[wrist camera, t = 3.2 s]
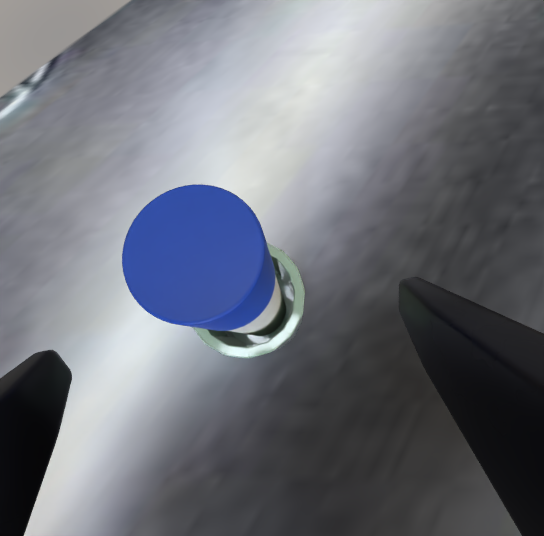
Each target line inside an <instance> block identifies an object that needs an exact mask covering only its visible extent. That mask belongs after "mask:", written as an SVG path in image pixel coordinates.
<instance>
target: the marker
mask: <svg viewBox="0 0 544 536" xmlns="http://www.w3.org/2000/svg"><path fill="white" fill-rule="evenodd" d="M122 265H123V272H124V276H125V280H126V283H127V285H128V288H129V290H130V292H131V293H132V295H133V297H134V298H135V300H136V301H137V302H138V303H139V305H140V306H142V307H143V308H144V309H145V310H146V311H147V312H149V313H150V314H151V315H153V316H154V317H157V318H159V319H161V320H163V321H166V322H169V323H172V324H178V325H184V326H190V327H196V328H203V329H209V330H216V331H232V332H238V333H244V334H249V335H255V336H263V335H267V334H270V333H272V332H274V331H275V330H276V329H277V328H278V327H279V326H280V325H281V323H282V322H283V319H284V317H285V312H286V306H285V301H284V298H283V295H282V293H281V290H280V287H279V284H278V281H277V278H276V275H275V269H274V265H273V261H272V258H271V255H270V252H269V249H268V246H267V243H266V240H265V237H264V233H263V230H262V228H261V225H260V222H259V221H258V219H257V217H256V215H255V214H254V212H253V211H252V210H251V208H250V207H249V206H248V205H247V204H246V203H245V202H244V201H243V200H242V199H240V198H239V197H238V196H236V195H234V194H233V193H231V192H229V191H227V190H224V189H222V188H218V187H214V186H209V185H187V186H182V187H178V188H175V189H172V190H170V191H167V192H165V193H163V194H161V195H160V196H158V197H157V198H155V199H154V200H152V201H151V202H150V203H149V204H148V205H146V206H145V207H144V208H143V210H142V211H141V212H140V213H139V214H138V215H137V217H136V218H135V220H134V221H133V223H132V225H131V226H130V228H129V231H128V233H127V236H126V239H125V242H124V247H123V254H122Z"/></svg>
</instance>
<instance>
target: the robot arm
mask: <svg viewBox="0 0 544 536" xmlns="http://www.w3.org/2000/svg"><path fill="white" fill-rule="evenodd" d="M399 311H400V314H401V316H402V319H403V321H404V323H405V326H406V328H407V330H408V332H409V335H410V337H411V339H412V342H413V344H414V346H415V349H416V351H417V353H418V355H419V358H420V360H421V362H422V364H423V366H424V368H425V370H426V372H427V374H428V375H429V377H430V379H431V381H432V382H433V384H434V386H435V387H436V389H437V391H438V393H439V394H440V396H441V398H442V399H443V401H444V403H445V405H446V406H447V408H448V410H449V411H450V413H451V415H452V417H453V418H454V420H455V422H456V423H457V425H458V427H459V429H460V430H461V432H462V434H463V435H464V437H465V439H466V441H467V442H468V444H469V446H470V447H471V449H472V451H473V453H474V454H475V456H476V458H477V459H478V461H479V463H480V465H481V466H482V468H483V470H484V471H485V473H486V475H487V477H488V478H489V480H490V482H491V483H492V485H493V487H494V489H495V490H496V492H497V494H498V495H499V497H500V499H501V501H502V502H503V504H504V506H505V507H506V509H507V511H508V513H509V514H510V516H511V518H512V519H513V521H514V523H515V525H516V526H517V528H518V530H519V531H520V533H521V535H522V536H544V334H543V333H541V332H539V331H536V330H534V329H532V328H530V327H527V326H525V325H523V324H521V323H519V322H516V321H514V320H512V319H510V318H507V317H505V316H503V315H501V314H499V313H496V312H494V311H492V310H490V309H487V308H485V307H483V306H481V305H479V304H476V303H474V302H472V301H470V300H467V299H465V298H463V297H461V296H459V295H456V294H454V293H452V292H450V291H448V290H445V289H443V288H441V287H439V286H436V285H434V284H432V283H430V282H428V281H425V280H423V279H421V278H418V277H413V278H408V279H403V280H401V281H400V283H399ZM71 380H72V374H71V371H70V369H69V368H68V366H67V365H66V364H65V362H64V361H63V360H62V358H61V357H60V356H59V354H58V353H57V352H55V351H54V350H47V351H42V352H38V353H35V354H33V355H32V356H31V357H29V358H28V359H26V360H25V361H24V362H22V363H21V364H20V365H18V366H17V367H15V368H14V369H13V370H11V371H10V372H9V373H7V374H6V375H5V376H3V377H2V378H0V536H24V533H25V530H26V527H27V524H28V522H29V519H30V516H31V513H32V510H33V507H34V504H35V501H36V498H37V496H38V493H39V490H40V487H41V484H42V481H43V478H44V475H45V472H46V470H47V467H48V464H49V461H50V458H51V455H52V452H53V449H54V446H55V443H56V440H57V437H58V434H59V430H60V426H61V422H62V418H63V414H64V409H65V405H66V401H67V397H68V393H69V389H70V384H71Z"/></svg>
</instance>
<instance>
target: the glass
mask: <svg viewBox="0 0 544 536" xmlns="http://www.w3.org/2000/svg"><path fill="white" fill-rule="evenodd" d="M267 246H268V249H269V252H270V255H271V258H272V261H273V265H274V269H275V275H276V278H277V281H278V284H279V287H280V290H281V293H282V295H283V298H284V301H285V306H286V312H285V317H284V319H283V322H282V323H281V325H280V326H279V327H278V328H277V329H276V330H275V331H274V332H272V333H270V334H267V335H263V336H255V335H249V334H244V333H238V332H232V331H216V330H209V329H203V328H196V327H193V329H194V330H195V331H196V333H197V334H198V335H199V337H200V338H201V340H202V341H203V342H204V343H205V344H206V345H207V346H209V347H211V348H213V349H214V350H216V351H218V352H219V353H221V354H223V355H226V356H230V357H239V358H253V357H256V356H260V355H263V354H266V353H270V352H273V351H276V350H279V349H281V348H282V347H283V346H285V345H286V344H287V343H288V342H289V341H291V340H292V339H293V337H294V336H295V334H296V333H297V331H298V329H299V327H300V325H301V322H302V317H303V307H304V296H305V291H304V290H305V289H304V286H303V283H302V280H301V276H300V273H299V270H298V269H297V267H296V265H295V264H294V263H293V262H292V261H291V260H290V258H289V257H288V256H287V255H286V254H285V253H284V252H283V251H282V250H280V249H278V248H276V247H274V246H272V245H270V244H268V243H267Z"/></svg>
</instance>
